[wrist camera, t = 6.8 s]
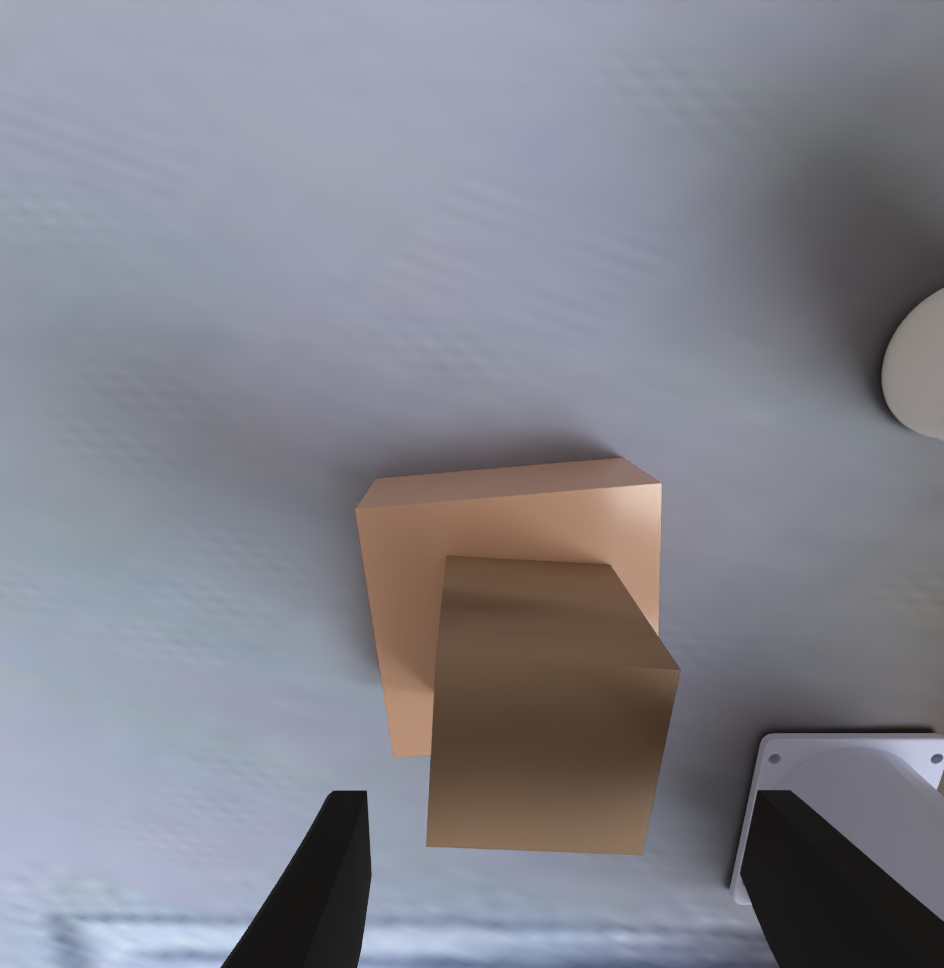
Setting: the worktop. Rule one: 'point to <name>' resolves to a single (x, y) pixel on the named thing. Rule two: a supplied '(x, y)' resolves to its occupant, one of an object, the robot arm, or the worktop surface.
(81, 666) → the worktop surface
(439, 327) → the worktop surface
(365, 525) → the terracotta block
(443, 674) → the walnut cube
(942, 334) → the drinking glass
